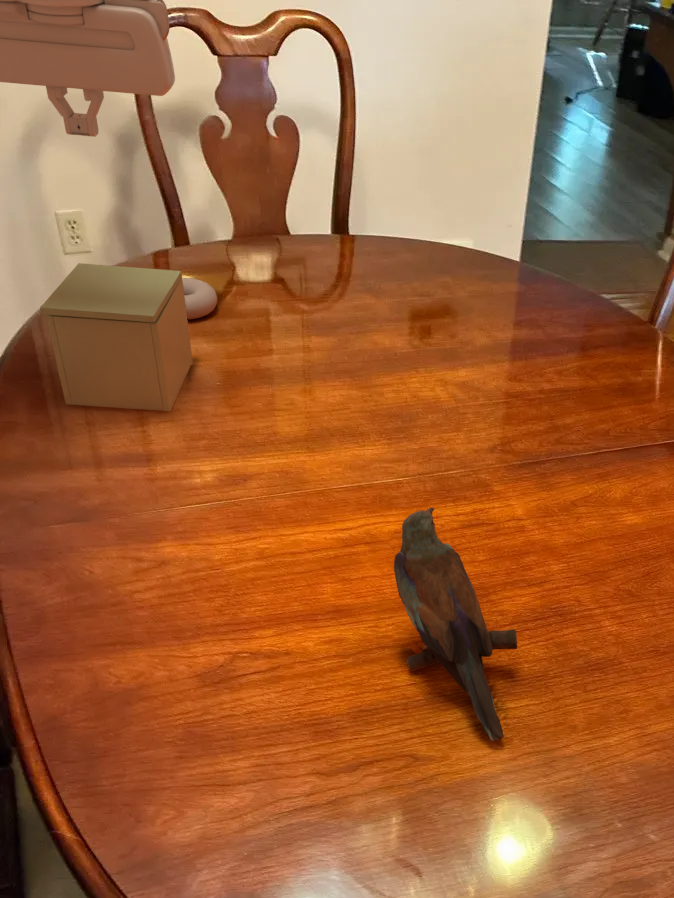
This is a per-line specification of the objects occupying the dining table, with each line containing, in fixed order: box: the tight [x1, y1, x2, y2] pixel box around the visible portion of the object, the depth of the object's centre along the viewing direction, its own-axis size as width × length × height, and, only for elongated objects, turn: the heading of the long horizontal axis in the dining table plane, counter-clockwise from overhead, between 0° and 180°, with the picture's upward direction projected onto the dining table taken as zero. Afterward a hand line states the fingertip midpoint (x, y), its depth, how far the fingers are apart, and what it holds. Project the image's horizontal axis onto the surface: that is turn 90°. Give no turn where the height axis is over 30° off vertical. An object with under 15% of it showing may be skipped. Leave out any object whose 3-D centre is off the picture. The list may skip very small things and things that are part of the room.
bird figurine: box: [393, 507, 518, 742], centre depth 87 cm, size 13×10×20 cm
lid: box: [39, 262, 183, 322], centre depth 114 cm, size 15×13×1 cm
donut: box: [182, 277, 218, 320], centre depth 142 cm, size 10×4×10 cm
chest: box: [45, 277, 194, 412], centre depth 119 cm, size 14×13×13 cm
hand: (82, 134), depth 101 cm, fingers closed
